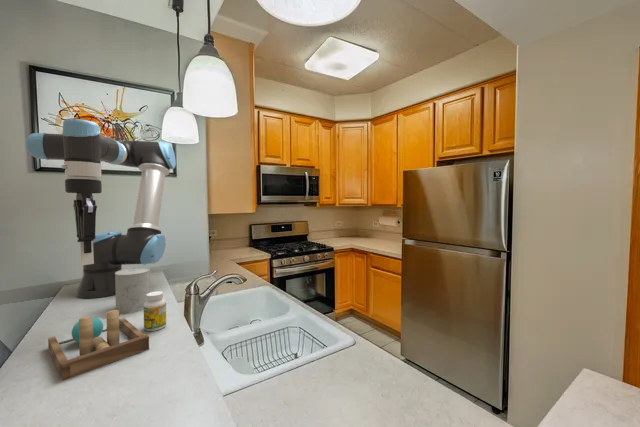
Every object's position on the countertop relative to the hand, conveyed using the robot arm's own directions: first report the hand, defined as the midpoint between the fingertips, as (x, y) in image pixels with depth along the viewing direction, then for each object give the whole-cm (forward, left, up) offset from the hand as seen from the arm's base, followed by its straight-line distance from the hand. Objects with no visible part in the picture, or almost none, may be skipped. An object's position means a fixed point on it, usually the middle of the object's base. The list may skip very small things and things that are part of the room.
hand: (87, 264), depth 76 cm
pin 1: (+18, -4, -18) cm, 25 cm away
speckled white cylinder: (-6, +13, -18) cm, 23 cm away
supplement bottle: (+15, +12, -18) cm, 26 cm away
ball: (+10, -2, -15) cm, 18 cm away
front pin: (+15, -1, -17) cm, 22 cm away
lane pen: (+17, -1, -18) cm, 24 cm away
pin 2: (+18, +1, -18) cm, 25 cm away
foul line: (+7, -1, -18) cm, 19 cm away
